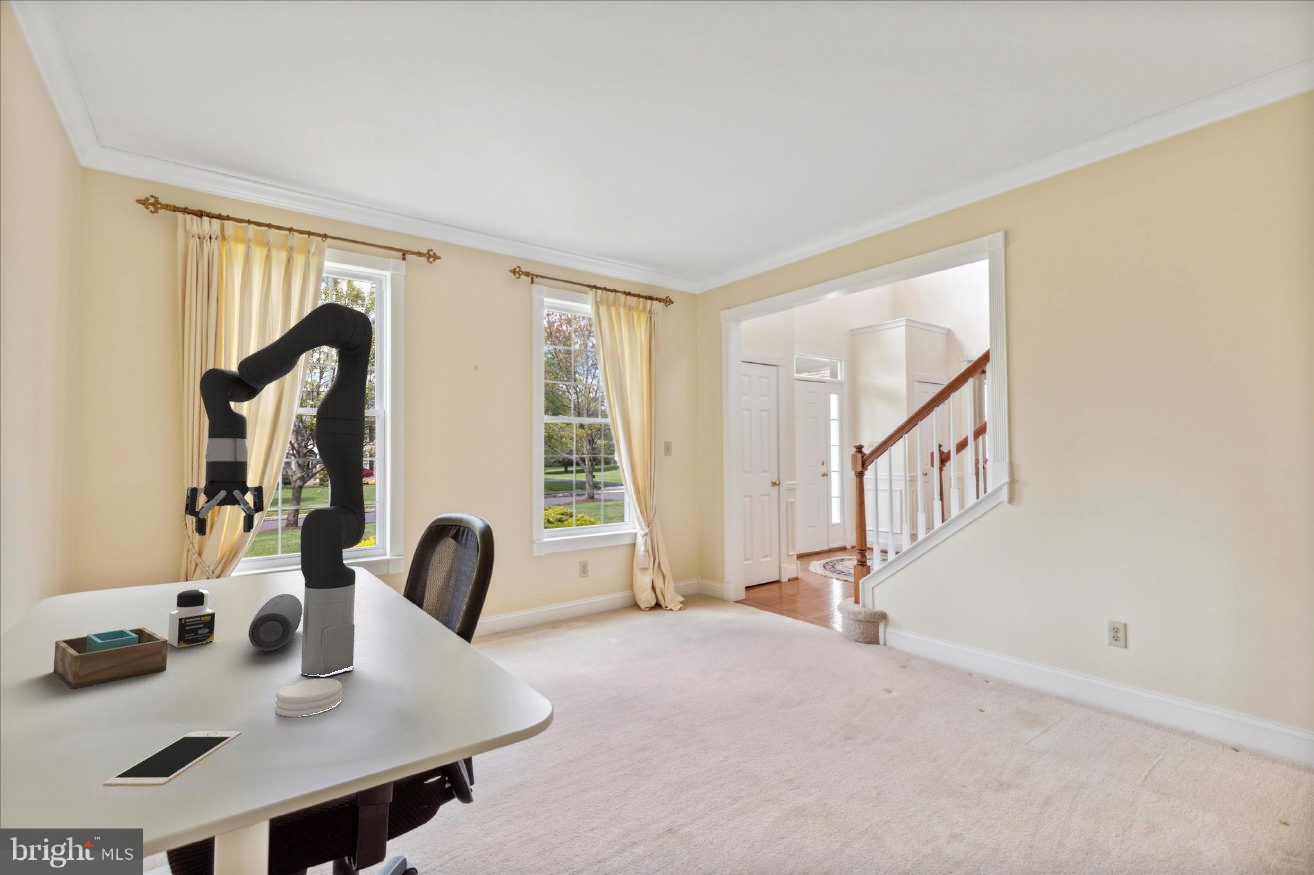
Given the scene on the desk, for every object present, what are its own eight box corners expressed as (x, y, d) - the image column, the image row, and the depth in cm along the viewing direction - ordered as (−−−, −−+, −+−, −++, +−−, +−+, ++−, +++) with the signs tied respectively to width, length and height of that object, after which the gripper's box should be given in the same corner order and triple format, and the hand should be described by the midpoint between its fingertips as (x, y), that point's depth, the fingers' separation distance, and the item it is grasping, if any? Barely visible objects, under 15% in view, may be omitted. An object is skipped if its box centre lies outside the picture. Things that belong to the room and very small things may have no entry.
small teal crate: (136, 666, 124) (138, 636, 124) (97, 674, 119) (99, 642, 120) (123, 657, 129) (125, 628, 130) (85, 664, 125) (87, 634, 125)
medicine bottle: (177, 648, 140) (180, 594, 141) (167, 642, 144) (169, 590, 145) (214, 641, 146) (216, 590, 146) (203, 636, 150) (206, 586, 151)
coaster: (266, 721, 101) (267, 699, 101) (285, 699, 111) (286, 679, 111) (334, 715, 104) (335, 694, 104) (346, 694, 113) (347, 675, 113)
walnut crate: (166, 670, 125) (167, 639, 125) (72, 689, 114) (74, 656, 114) (142, 655, 135) (143, 627, 135) (53, 671, 123) (55, 640, 124)
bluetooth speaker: (260, 633, 153) (262, 592, 154) (303, 629, 157) (305, 590, 158) (243, 659, 133) (245, 612, 133) (293, 654, 137) (295, 608, 137)
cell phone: (242, 735, 96) (242, 730, 96) (162, 787, 80) (163, 782, 80) (191, 735, 96) (191, 731, 96) (101, 788, 80) (101, 783, 80)
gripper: (194, 459, 128) (192, 537, 127) (269, 459, 140) (268, 532, 139) (181, 459, 133) (179, 536, 132) (255, 460, 144) (253, 530, 143)
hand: (225, 533), depth 135 cm, fingers open, 8 cm apart
